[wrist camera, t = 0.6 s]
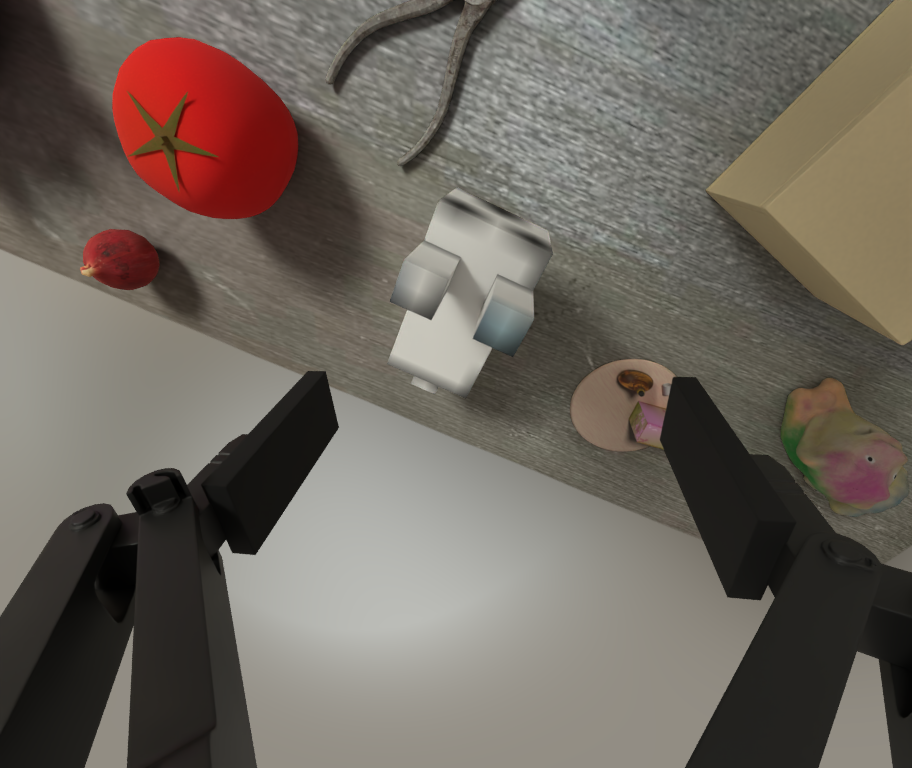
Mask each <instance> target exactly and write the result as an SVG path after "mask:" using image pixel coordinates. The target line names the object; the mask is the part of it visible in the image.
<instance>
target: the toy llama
mask: <svg viewBox="0 0 912 768" xmlns="http://www.w3.org/2000/svg"><path fill="white" fill-rule="evenodd" d="M552 255H553V252H552V247H551V242H550V237H549V232H548V230H546V229H544V228H542V227H539V226H537V225H535V224H533V223H531V222H529V221H527V220H525V219H523V218H521V217H518V216H516V215H514V214H512V213H510V212H508V211H506V210H504V209H502V208H500V207H497V206H495V205H493V204H491V203H489V202H487V201H485V200H483V199H481V198H479V197H476V196H474V195H472V194H470V193H468V192H466V191H464V190H462V189H460V188H458V187H457V188H456V189H454V190H453V191H451V192H450V193H448V194H447V195H446V196H444V197H443V198H441V199H440V200H439V201H438V204H437V207H436V209H435V212H434V215H433V218H432V220H431V223H430V226H429V229H428V231H427V234H426V237H425V240H424V241H423V242H422V243H421V244H420V245H419V246H418V247H417V248H416V249H415V250H414V251H413V252H412V253H411V254H410V255H409V256H408V257H407V258H406V259H405V260H404V262H403V265H402V268H401V270H400V273H399V276H398V279H397V282H396V285H395V288H394V291H393V293H392V296H391V299H390V302H391V303H394V304H396V305H398V306H400V307H402V308H405V309H407V312H406V315H405V318H404V320H403V323H402V326H401V328H400V331H399V334H398V336H397V339H396V342H395V344H394V347H393V350H392V352H391V355H390V358H389V360H388V363H387V364H388V365H390V366H392V367H395V368H397V369H399V370H402V371H404V372H406V373H409V374H411V375H413V376H414V378H413V380H412V383H411V384H413V385H415V386H417V387H420V388H422V389H424V390H426V391H429V392H431V393H433V394H435V393H436V391H437V389H438V387H441V388H443V389H445V390H447V391H450V392H452V393H454V394H457V395H459V396H461V397H463V398H466V397H467V395H468V393H469V392H470V390H471V388H472V386H473V384H474V382H475V380H476V378H477V376H478V374H479V372H480V370H481V368H482V367H483V365H484V363H485V361H486V359H487V357H488V355H489V353H490V351H491V349H492V348H494V349H496V350H498V351H501V352H503V353H505V354H507V355H509V356H512V357H513V356H514V354H515V353H516V351H517V349H518V347H519V345H520V344H521V342H522V340H523V338H524V336H525V335H526V333H527V331H528V329H529V328H530V326H531V324H532V322H533V320H534V298H533V290H534V288H535V286H536V285H537V283H538V281H539V279H540V277H541V275H542V273H543V272H544V270H545V268H546V266H547V264H548V262H549V260H550V258H551V257H552Z"/></svg>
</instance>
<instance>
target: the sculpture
mask: <svg viewBox="0 0 912 768" xmlns="http://www.w3.org/2000/svg"><path fill="white" fill-rule="evenodd" d="M781 440H782V442H783V445H784V448H785V450H786V452H787V454H788V456H789V458H790V460H791V461H792V463H793V464H794V465H795V466H796V467H797V468H798V469H799V470H800V471H801V472H802V473H803V474H804V481H806V482H807V483H808V484H809V485H810V486H811V487H812V488H813V489H815V490H816V491H819V492H821V493H822V494H824V495H825V497H826V499H827V500H828V501H829V505H830V508H831V509H832V511H834V512H835V513H837V514H841V515H845V516H852V517H858V516H860V515H863V514H866V513H879V512H883V511H885V510H887V509H889V508H892V507H894V506H897V505H898V504H900V502H901V501H902V500H903V499H904V498H906V497H907V495H908V491H909V487H908V484H907V482H906V480H907V477H908V474H907V471H906V470H905V469H904V468H903V467H902V466H903V465H904V464H905V463H906V462H907V461H908V459H907V457H906V455H905V454H904V453H903V452H902V445H901V443H900V442H899V441H898V440H896V439H894V438H893V437H891V436H890V435H889V434H888V433H886V432H885V431H884V430H883V429H881V428H879V427H878V426H876V425H874V424H872V423H870V422H868V421H867V420H865V419H863V418H861V417H860V416H858V415H856V414H855V413H854V411H853V410H852V408H851V406H850V403H849V401H848V398H847V395H846V392H845V388H844V386H843V384H842V383H841V382H839V381H838V380H836V379H834V378H826V379H824V380H822V382H821V383H820V384H819V385H818V386H817V387H815V388H812V389H805V388H798V389H795V390H793V391H792V392H791V393H790V394H789V396H788V398H787V402H786V407H785V413H784V418H783V422H782V426H781Z"/></svg>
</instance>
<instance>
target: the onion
mask: <svg viewBox="0 0 912 768" xmlns="http://www.w3.org/2000/svg"><path fill="white" fill-rule="evenodd" d="M83 262H84V265H85V266H84V267H81V268H80V270H81V273H82V274H83V275H87V276H89V277H91V276H93V277H94V278H95V279H96V280H98V281H99V282H101V283H103V284H105V285H108V286H110V287H113V288H117V289H123V290H134V289H137V288H140V287H143V286H146V285H148V284H149V283H150V282H151V281H152V280H153V279H154V278H155V277H156V275H157V273H158V270H159V265H160V264H159V258H158V254H157V252H156V250H155V248H154V247H153V246H152V245H151V244H150V243H149V242H148V241H147V240H146V239H145V238H144V237H142V236H140V235H138V234H136V233H134V232H131V231H129V230H115V229H109V230H106V231H103V232H101V233H98V234H96V235H95V236H93V237H91V238H90V240H89V241H88V242H87V244H86V246H85V248H84V251H83Z"/></svg>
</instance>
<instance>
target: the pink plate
mask: <svg viewBox="0 0 912 768" xmlns="http://www.w3.org/2000/svg"><path fill="white" fill-rule="evenodd" d="M673 377H676V375H675V374H674V373H672V372H671V371H670V370H669V369H667V368H666V367H664V366H662V365H660V364H658V363H655V362H652V361H648V360H642V359H624V360H618V361H614V362H611V363H608V364H605V365H603V366H601V367H599V368H597V369H595V370H594V371H592V372H591V373H590V374H588V375H587V376H586V377H585V378H584V379H583V380H582V381H581V382H580V384H579V385H578V386H577V388H576V389H575V391H574V393H573V396H572V399H571V404H570V416H571V420H572V423H573V425H574V427H575V429H576V430H577V432H578V433H579V434H580V435H581V436H582V437H583V438H584V439H585V440H587V441H588V442H590V443H591V444H593V445H595V446H597V447H600V448H603V449H606V450H611V451H619V452H626V451H635V450H640V449H644V448H647V447H649V446H653V447H656V448H660V449H663V446H662V444H661V442H660V435H661V431H662V426H663V421H664V416H665V412H666V407H667V402H668V398H669V393H670V388H671V384H672V379H673ZM663 450H664V449H663Z"/></svg>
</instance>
